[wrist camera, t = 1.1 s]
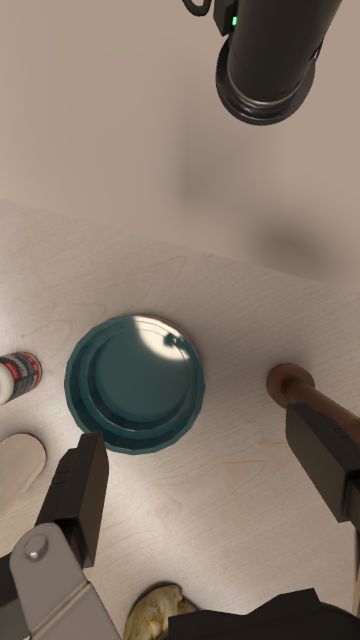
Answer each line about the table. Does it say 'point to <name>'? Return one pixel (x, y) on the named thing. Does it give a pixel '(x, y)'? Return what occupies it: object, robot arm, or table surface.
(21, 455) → the cup
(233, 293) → the table surface
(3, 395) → the pill bottle
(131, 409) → the bowl
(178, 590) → the pastry
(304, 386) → the pestle
